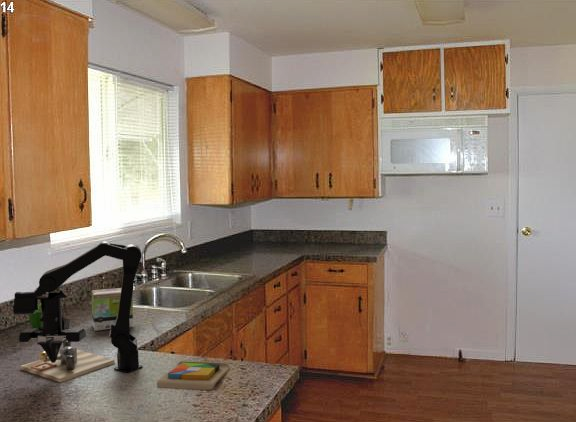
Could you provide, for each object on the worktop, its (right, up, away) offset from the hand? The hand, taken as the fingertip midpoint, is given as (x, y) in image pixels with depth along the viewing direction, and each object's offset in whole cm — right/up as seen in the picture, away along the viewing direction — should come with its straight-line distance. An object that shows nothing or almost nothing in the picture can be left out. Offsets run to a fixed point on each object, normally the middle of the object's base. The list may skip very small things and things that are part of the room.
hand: (53, 362), depth 179 cm
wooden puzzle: (+44, -5, -2) cm, 44 cm away
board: (+1, -4, +9) cm, 10 cm away
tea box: (+1, 0, +56) cm, 56 cm away
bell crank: (-2, -2, +8) cm, 8 cm away
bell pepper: (-27, -1, +56) cm, 62 cm away
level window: (-5, -3, +6) cm, 8 cm away
